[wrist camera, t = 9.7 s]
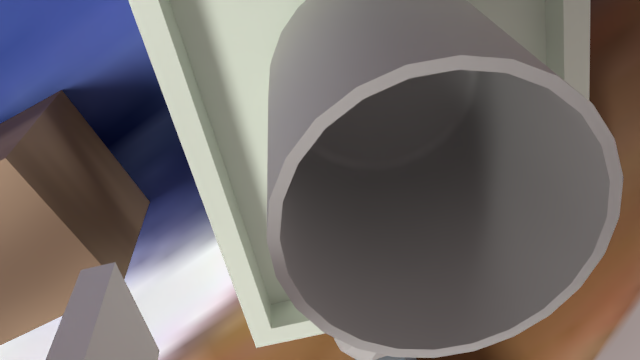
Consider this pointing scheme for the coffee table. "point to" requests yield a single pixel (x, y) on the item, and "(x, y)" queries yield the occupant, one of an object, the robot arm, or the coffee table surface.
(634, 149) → the coffee table surface
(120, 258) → the walnut block
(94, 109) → the coffee table surface
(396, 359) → the blue painted block
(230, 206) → the tray
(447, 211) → the cup
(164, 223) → the coffee table surface
